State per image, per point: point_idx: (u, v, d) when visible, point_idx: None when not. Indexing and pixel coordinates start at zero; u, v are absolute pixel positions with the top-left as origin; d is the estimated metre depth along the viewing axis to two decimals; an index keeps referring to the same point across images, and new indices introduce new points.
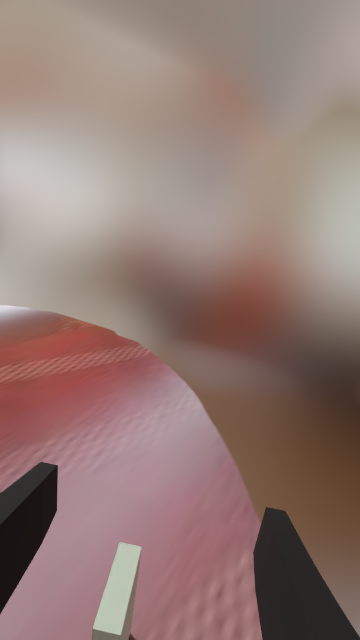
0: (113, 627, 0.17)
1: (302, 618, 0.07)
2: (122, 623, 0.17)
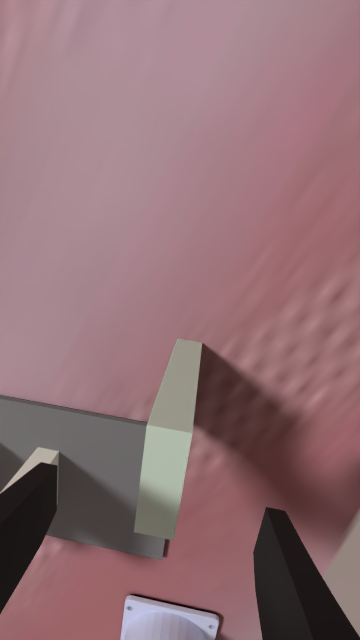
0: (161, 533, 0.12)
1: (302, 618, 0.07)
2: (173, 529, 0.12)
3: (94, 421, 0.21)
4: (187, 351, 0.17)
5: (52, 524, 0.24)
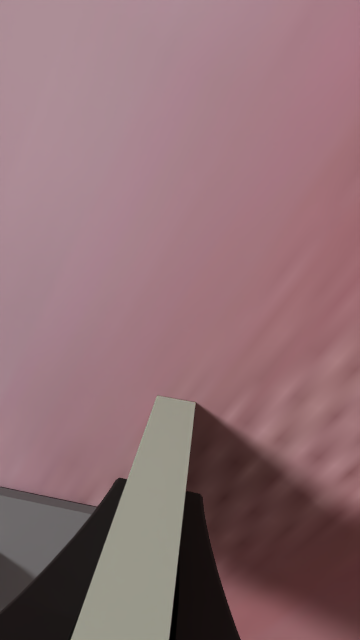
0: None
1: (178, 590, 0.07)
2: None
3: (38, 509, 0.14)
4: (170, 427, 0.11)
5: None
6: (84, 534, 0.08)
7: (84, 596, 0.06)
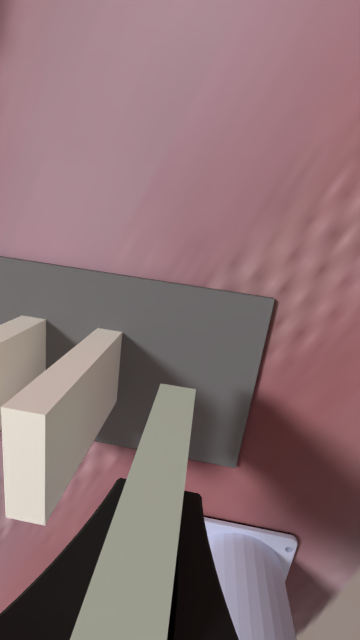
0: None
1: (176, 589, 0.07)
2: None
3: (168, 289, 0.18)
4: (173, 409, 0.12)
5: (108, 428, 0.21)
6: (85, 534, 0.08)
7: None
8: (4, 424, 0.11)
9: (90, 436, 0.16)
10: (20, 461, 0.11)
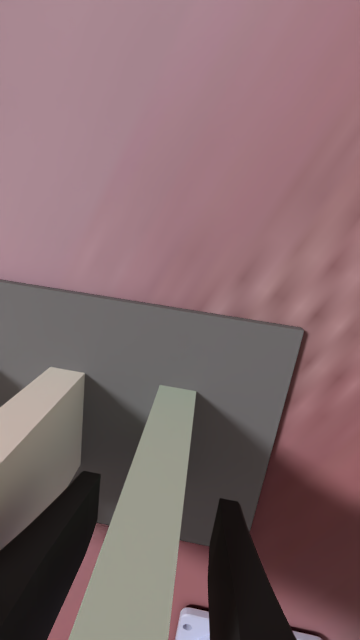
0: None
1: (233, 602, 0.07)
2: None
3: (148, 315, 0.12)
4: (173, 412, 0.11)
5: None
6: (37, 524, 0.08)
7: (27, 583, 0.06)
8: None
9: None
10: None
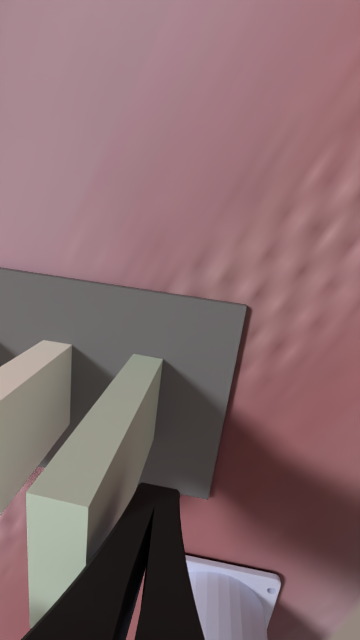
0: None
1: (145, 582, 0.07)
2: None
3: (122, 295, 0.15)
4: (138, 371, 0.14)
5: None
6: (114, 540, 0.08)
7: (120, 604, 0.06)
8: None
9: (21, 473, 0.13)
10: None
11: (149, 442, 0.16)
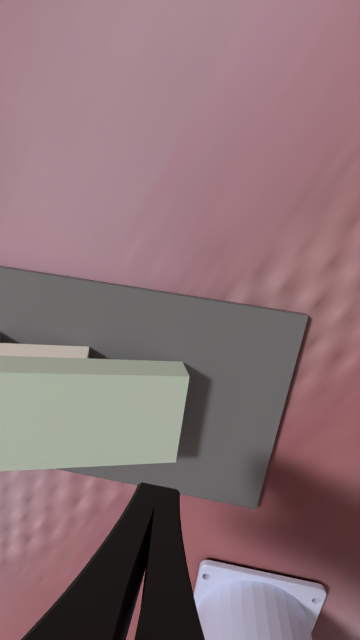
0: None
1: (145, 583, 0.07)
2: None
3: (179, 303, 0.15)
4: (148, 367, 0.14)
5: None
6: (113, 540, 0.08)
7: (120, 604, 0.06)
8: None
9: None
10: None
11: (153, 451, 0.15)
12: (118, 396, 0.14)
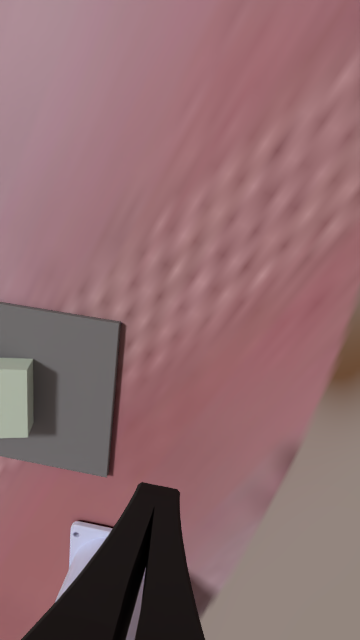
0: None
1: (145, 582, 0.07)
2: None
3: (24, 314, 0.19)
4: None
5: None
6: (113, 540, 0.08)
7: (120, 604, 0.06)
8: None
9: None
10: None
11: (7, 428, 0.20)
12: None
